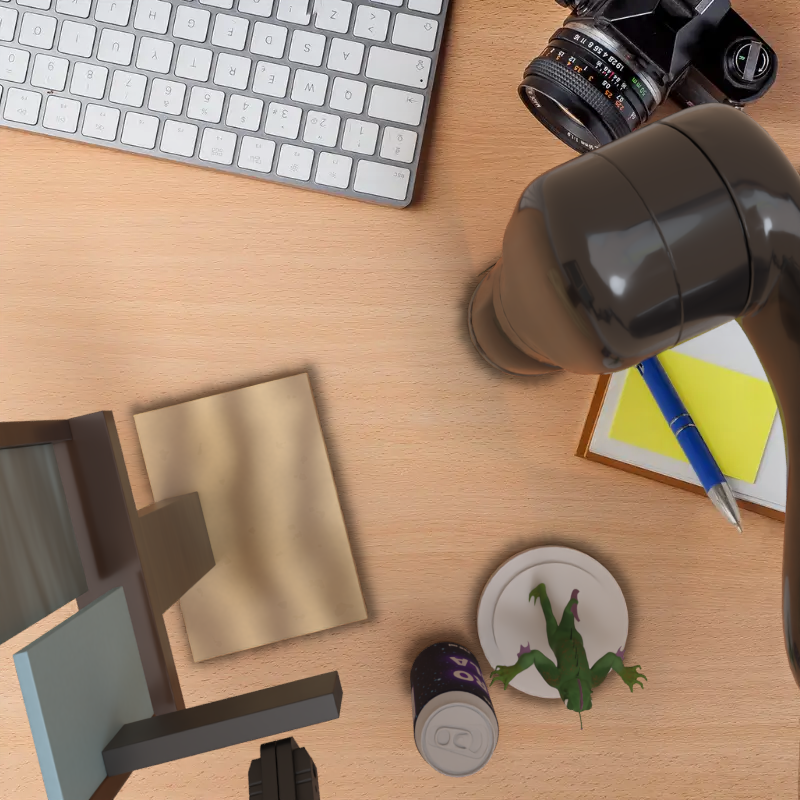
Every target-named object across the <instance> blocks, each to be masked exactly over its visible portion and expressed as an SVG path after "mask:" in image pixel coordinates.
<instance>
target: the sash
mask: <svg viewBox="0 0 800 800" xmlns="http://www.w3.org/2000/svg"><path fill="white" fill-rule="evenodd" d="M12 660H13V663H14V668H15V671H16V674H17V675H16V676H17V680H18V683H19V687H20V691H21V695H22V699H23V700H22V701H23V704H24V708H25V712H26V716H27V720H28V724H29V728H30V732H31V736H32V740H33V745H34V749H35V752H36V757H37V761H38V764H39V768H40V773H41V776H42V781H43V785H44V789H45V793H46V798H47V800H112V799H113V797H114V796H115V794H116V793H117V791H118V790H119V789H120V787H121V786H122V784H123V783H124V781H125V780H126V778H127V777H128V776H129V774H130V773H131V771H133V772H134V771H139V770H143V769H147V768H150V767H155V766H158V765H163V764H165V763H166V764H167V763H170V762H174V761H177V760H181V759H185V758H189V757H194V756H197V755H201V754H205V753H208V752H209V753H210V752H213V751H217V750H221V749H224V748H229V747H233V746H236V745H240V744H244V743H248V742H251V741H252V742H253V741H256V740H260V739H263V738H264V739H265V738H268V737H271V736H275V735H280V734H283V733H287V732H288V733H289V732H292V731H295V730H298V729H303V728H306V727H307V728H308V727H311V726H314V725H319V724H322V723H323V724H324V723H326V722H330V721H335V720H338V719H340V716H341V709H342V704H343V703H342V702H343V696H344V691H343V687H342V683H341V679H340V675H339V671H338V669H337V670H333V671H327V672H325V673H321V674H317V675H312V676H309V677H304V678H299V679H297V680H293V681H289V682H284V683H281V684H277V685H273V686H269V687H265V688H262V689H258V690H253V691H250V692H246V693H241V694H238V695H234V696H230V697H226V698H222V699H218V700H214V701H210V702H206V703H203V704H198V705H195V706H191V707H190V706H189V707H186V709H183V710H179V711H175V712H171V713H167V714H163V715H159V716H156V714H154V712H153V708H152V704H151V700H150V696H149V691H148V687H147V683H146V679H145V675H144V671H143V667H142V663H141V659H140V655H139V651H138V647H137V643H136V639H135V635H134V631H133V627H132V623H131V619H130V615H129V611H128V606H127V602H126V598H125V594H124V590H123V587H122V586H120V587H116V588H112V589H111V590H109V591H108V592H106V593H105V594H103V595H102V596H100V597H99V598H97V599H96V600H94V601H93V602H91V603H90V604H88V605H87V606H85V607H84V608H82V609H81V610H78V611H76V612H75V613H74V614H72V615H70V616H69V617H67V618H66V619H64V620H63V621H61V622H60V623H58V624H56V625H55V626H53V628H51V629H49V630H48V631H46V632H44V633H43V634H41V635H40V636H38V637H37V638H35V639H34V640H32V642H30V643H28V644H27V645H25V646H23V647H22V648H21V649H19V650H18V651H16V652H14V653H13V654H12Z"/></svg>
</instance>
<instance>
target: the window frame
mask: <svg viewBox="0 0 800 800" xmlns="http://www.w3.org/2000/svg"><path fill="white" fill-rule="evenodd" d="M215 565H216V564H215V560H214V556H213V552H212V548H211V544H210V539H209V535H208V531H207V527H206V523H205V519H204V515H203V511H202V507H201V503H200V499H199V495H198V492H197V491H196V492H192V493H188V494H184V495H180V496H176V497H172V498H168V499H164V500H160V501H158V502H156V503H155V502H153V503H151V504H149V505H146V506H144V507H141V508H139V509H137V505H136V502H135V497H134V492H133V488H132V485H131V481H130V478H129V472H128V469H127V464H126V460H125V456H124V452H123V449H122V445H121V440H120V436H119V433H118V428H117V425H116V420H115V416H114V412H113V410H112V409H105V410H103V409H101V410H98V411H93V412H89V413H86V414H82V415H78V416H73V417H69V418H64V419H63V418H62V419H58V418H57V419H38V420H37V419H36V420H34V419H33V420H14V421H13V420H12V421H11V420H10V421H0V646H1V645H3V644H5V643H6V642H8V641H9V640H11V639H12V638H14V637H16V636H17V635H19V634H21V633H22V632H24V631H26V630H27V629H29V628H30V627H32V626H34V625H35V624H37V623H38V622H40V621H42V620H44V619H45V618H47V617H48V616H50V615H51V614H53V613H55V612H57V611H58V610H60V609H61V608H63V607H65V606H66V605H67V604H69V603H71V602H73V601H74V600H75V601H76V605H77V610H78V611H79V610H81V609H82V608H84V607H85V606H87V605H88V604H90V603H91V602H93V601H94V600H96V599H97V598H99V597H100V596H102V595H103V594H105V593H106V592H108V591H109V590H111V589H112V588H116V587H120V586H122V587H123V590H124V594H125V598H126V602H127V606H128V611H129V615H130V619H131V623H132V627H133V631H134V635H135V639H136V643H137V647H138V651H139V655H140V659H141V663H142V667H143V671H144V675H145V679H146V683H147V687H148V691H149V696H150V700H151V704H152V708H153V712H154V714H156V716H159V715H163V714H167V713H171V712H175V711H179V710H183V709H186V708H187V707H186V703H185V700H184V695H183V690H182V687H181V684H180V679H179V676H178V671H177V667H176V663H175V659H174V654H173V651H172V647H171V642H170V639H169V635H168V634H169V633H168V630H167V625H166V622H165V618H164V614H165V613H166V612H167V611H168V610H169V609H170V608H171V607H173V606H174V605H175V604H176V603H177V602H179V599H180V598H181V597H182V596H183V595H184V594H185V593H186V592H187V591H188V590H190V589H191V588H192V587H193V586H194V585H195V584H196V583H197V582H198V581H199V580H200V579H201V578H202V577H204V576H205V575H206V574H207V573H208V572H209V571H210V570H211V569H212V568H213V567H214V566H215ZM133 772H134V771H131V773H130V774H129V776H128V777H127V778H126V780H125V781H124V783H123V784H122V786H121V787H120V789H119V790H118V791H117V793H116V794H115V796H114V797H113V799H112V800H115V798H116V797H117V795H118V794H119V792H121V790H122V788H123V787H124V786H125V784H126V782H127V781H128V780H129V778H130V777H131V776H132V774H133Z"/></svg>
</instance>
